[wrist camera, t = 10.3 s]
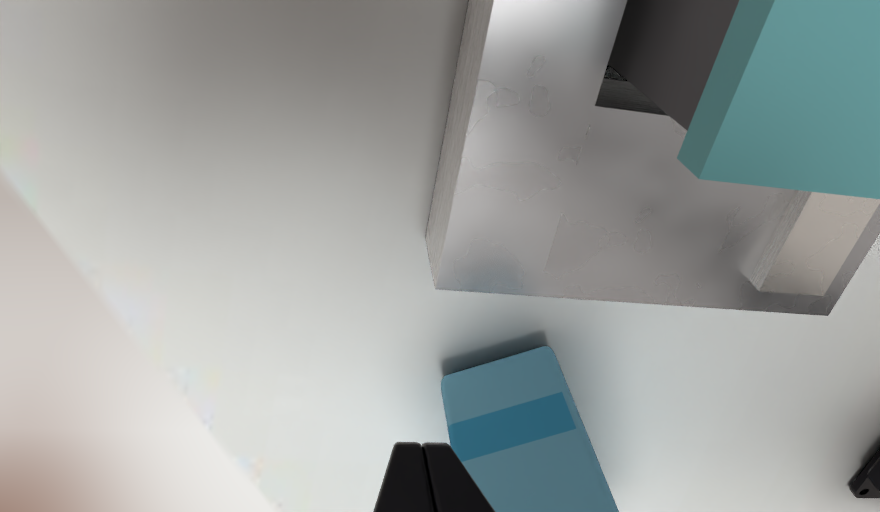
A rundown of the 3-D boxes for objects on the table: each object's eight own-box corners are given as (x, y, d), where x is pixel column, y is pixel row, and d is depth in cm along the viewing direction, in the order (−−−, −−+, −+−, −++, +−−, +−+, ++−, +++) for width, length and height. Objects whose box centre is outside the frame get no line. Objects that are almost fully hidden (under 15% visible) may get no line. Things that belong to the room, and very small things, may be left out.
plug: (786, -87, 17) (1056, -45, 11) (717, 83, 20) (902, 202, 13) (627, -120, 17) (815, -96, 10) (576, 62, 19) (698, 178, 12)
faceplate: (1010, -157, 17) (1150, -158, 14) (779, 267, 24) (839, 326, 21) (520, -281, 14) (565, -314, 11) (425, 238, 22) (437, 300, 19)
